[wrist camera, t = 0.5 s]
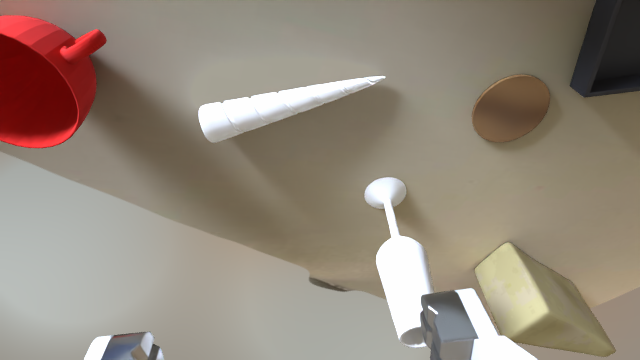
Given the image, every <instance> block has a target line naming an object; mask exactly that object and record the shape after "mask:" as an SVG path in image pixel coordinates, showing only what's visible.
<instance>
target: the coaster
mask: <svg viewBox="0 0 640 360" xmlns="http://www.w3.org/2000/svg"><path fill="white" fill-rule="evenodd" d="M549 104H550V94H549V90H548V88H547V86H546V85H545V84H544V83H543V82H542V81H541V80H540V79H538V78H536V77H534V76H530V75H514V76H509V77H506V78H504V79H501V80H499V81H497V82H496V83H494V84H493V85H491V86H490V87H489V88H487V89H486V90H485V91H484V92H483V93H482V95H481V96H480V97H479V99H478V100H477V102H476V104H475V106H474V109H473V112H472V123H473V127H474V129H475V130H476V132H477V133H478V134H479V135H480V136H481V137H482V138H484V139H486V140H489V141H493V142H506V141H511V140H515V139H517V138H520V137H522V136H524V135H525V134H527V133H529V132H530V131H531V130H533V129H534V128H535V127H536V126H537V125H538V124H539V123H540V122H541V121H542V119H543V118H544V116H545V115H546V113H547V110H548V108H549Z"/></svg>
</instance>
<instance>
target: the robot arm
mask: <svg viewBox="0 0 640 360" xmlns="http://www.w3.org/2000/svg"><path fill="white" fill-rule="evenodd" d="M420 303H421V306H422V309H423V310H422V311H421V312H420V324H421V331H422V335H423V338H424V341H425V344H426V345H427V346H428V347H429V348H430V349H431V356H430V359H431V360H538V359H536V358H535V357H534V356H532V355H531V354H529V353H528V352H527V351H525V350H524V349H522V348H521V347H519V346H518V345H517V344H515V343H514V342H513V341H511V340H510V339H508V338H507V337H506V336H499V335H498V333H497V331H496V329H495V327H494V325H493V324H492V322H491V320H490V318H489V316H488V314H487V312H486V310H485V308H484V306H483V305H482V303H481V301H480V299H479V297H478V295H477V293H476V291H475V290H474V289H473V288H469V289H462V290H455V291H454V290H451V291H444V292H438V293H431V294H424V295H422V296H421V302H420ZM153 341H154V336H153V335H152V333H151V332H150V331H149V332H139V333H129V334H120V335H111V336H103V337H97V338H96V339H95V340H94V341H93V342H92V344H91V346H90V348H89V350H88V352H87V354H86V356H85V358H84V360H164V357H163V352H162V350H161V348H160V347H159V346H157V345H155V344H153Z"/></svg>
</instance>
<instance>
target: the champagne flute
mask: <svg viewBox="0 0 640 360" xmlns="http://www.w3.org/2000/svg"><path fill="white" fill-rule="evenodd" d="M406 192H407V191H406V186H405V185H404V183H403V182H402V181H400V180H399V179H396V178H391V177H385V178H380V179H377V180H375V181H373V182H372V183H371V184H370V185H369V186H368V187H367V188H366V190H365V195H364V196H365V200H366V202H367V203H368V204H369V205H370V206H372V207H374V208H378V209H385V210H386V215H387V219H388V223H389V227H390V232H391V236H392V238H391V239H389V240H388V241H386V242H385V243H384V244H383V245H382V247H381V248H380V249H379V252H378V254H377V257H376V264H377V267H378V271H379V274H380V277H381V281H382V284H383V287H384V291H385V294H386V297H387V301H388V304H389V308H390V311H391V314H392V318H393V321H394V324H395V327H396V331H397V334H398V338H399V341H400V343H401V344H402V345H404V346H407V347H411V348H421V347H426V346H427V345H426V344H425V341H424V338H423V335H422V331H421V324H420V312H421V311H422V310H423V309H422V306H421V303H420V302H421V296H422V295H424V294H431V293H434V288H433V283H432V278H431V272H430V267H429V262H428V257H427V252H426V250H425V248H424V247H423V246H422V245H421V244H420V243H418V242H417V241H415V240H414V239H412V238H409V237H404V236H400V233H399V229H398V226H397V222H396V218H395V214H394V210H393V207H394V206H396V205H398V204H399V203H401V202H402V201H403V199H404V198H405V196H406Z"/></svg>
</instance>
